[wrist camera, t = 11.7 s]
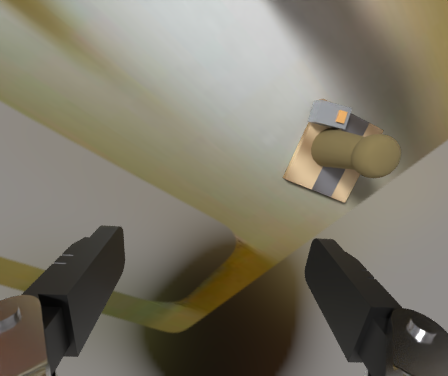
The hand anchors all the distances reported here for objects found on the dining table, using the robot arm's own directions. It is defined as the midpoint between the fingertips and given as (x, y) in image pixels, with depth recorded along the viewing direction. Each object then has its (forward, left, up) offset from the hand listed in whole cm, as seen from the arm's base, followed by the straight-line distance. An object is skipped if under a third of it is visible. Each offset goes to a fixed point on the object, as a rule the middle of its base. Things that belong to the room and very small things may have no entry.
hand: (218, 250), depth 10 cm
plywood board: (-9, +20, -26) cm, 34 cm away
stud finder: (-13, +16, -25) cm, 32 cm away
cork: (-9, +19, -25) cm, 33 cm away
